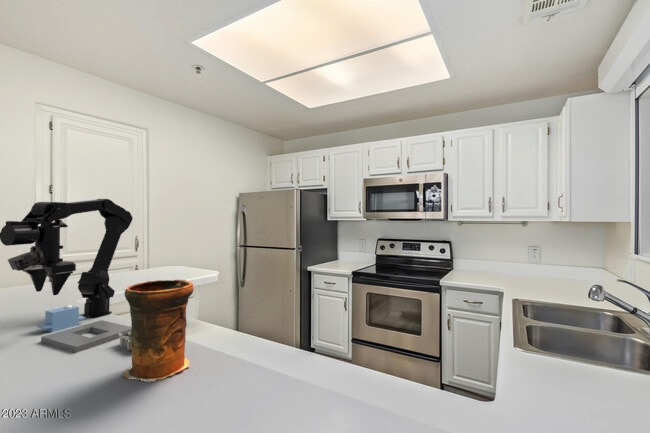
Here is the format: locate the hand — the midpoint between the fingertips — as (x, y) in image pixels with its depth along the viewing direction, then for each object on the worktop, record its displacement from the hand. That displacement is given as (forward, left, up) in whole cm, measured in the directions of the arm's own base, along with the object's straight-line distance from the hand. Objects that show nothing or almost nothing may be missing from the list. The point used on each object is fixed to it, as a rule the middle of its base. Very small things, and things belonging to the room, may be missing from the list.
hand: (47, 293), depth 94 cm
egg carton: (-5, +35, -12) cm, 38 cm away
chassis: (-3, +17, -12) cm, 21 cm away
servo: (-4, +1, -12) cm, 12 cm away
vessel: (+2, +51, -12) cm, 52 cm away
